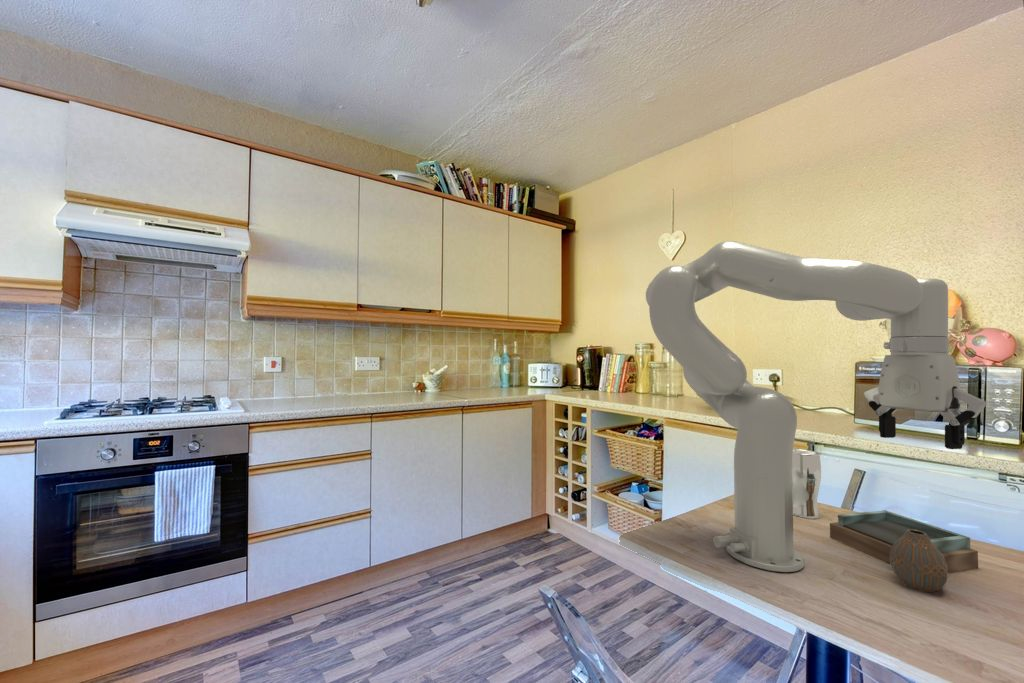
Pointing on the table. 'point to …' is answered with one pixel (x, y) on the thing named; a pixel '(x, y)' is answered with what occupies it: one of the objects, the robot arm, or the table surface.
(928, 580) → the vase
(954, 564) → the dock
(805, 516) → the beer glass
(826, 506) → the table surface
